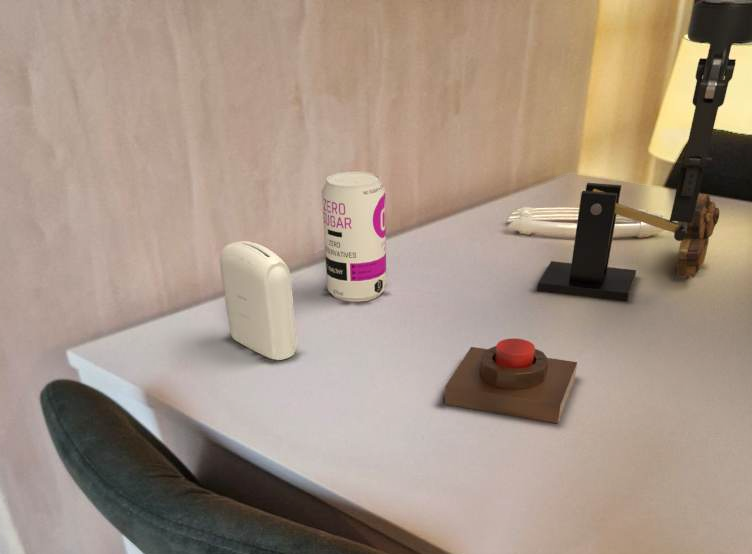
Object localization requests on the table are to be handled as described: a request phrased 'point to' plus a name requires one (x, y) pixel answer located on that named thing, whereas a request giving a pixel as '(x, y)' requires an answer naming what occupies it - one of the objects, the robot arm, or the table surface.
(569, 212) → the white piece
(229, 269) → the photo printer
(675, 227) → the lever
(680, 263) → the wooden carving
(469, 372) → the button block
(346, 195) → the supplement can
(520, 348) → the button
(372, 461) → the table surface
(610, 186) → the bracket
